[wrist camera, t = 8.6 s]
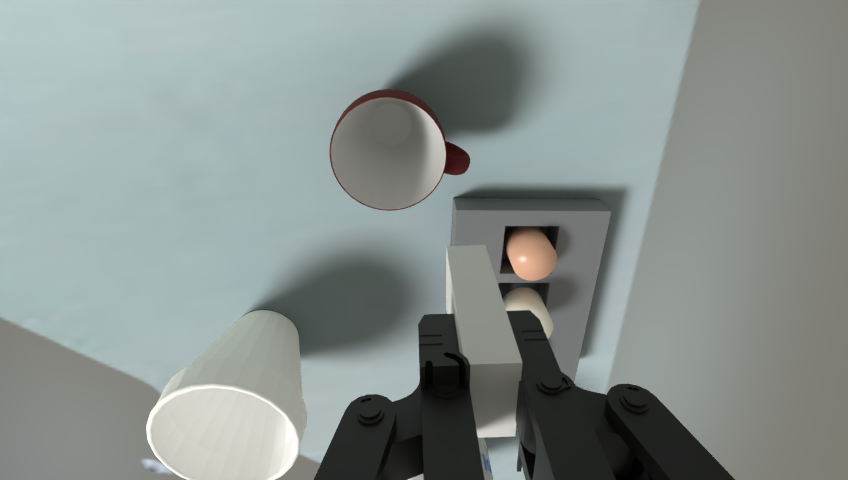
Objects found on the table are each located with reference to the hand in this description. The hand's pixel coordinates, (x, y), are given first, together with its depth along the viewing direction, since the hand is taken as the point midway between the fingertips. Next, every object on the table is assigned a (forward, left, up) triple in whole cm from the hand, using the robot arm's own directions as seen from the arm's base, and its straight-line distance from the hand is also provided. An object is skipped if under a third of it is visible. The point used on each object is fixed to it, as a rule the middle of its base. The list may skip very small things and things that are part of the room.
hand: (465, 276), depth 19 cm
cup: (+28, -1, -26) cm, 38 cm away
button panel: (+8, +17, -26) cm, 32 cm away
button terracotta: (+3, +14, -25) cm, 28 cm away
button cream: (+8, +17, -23) cm, 30 cm away
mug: (+1, -2, -26) cm, 26 cm away
